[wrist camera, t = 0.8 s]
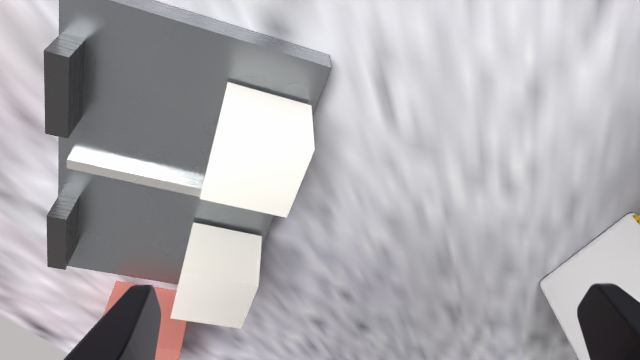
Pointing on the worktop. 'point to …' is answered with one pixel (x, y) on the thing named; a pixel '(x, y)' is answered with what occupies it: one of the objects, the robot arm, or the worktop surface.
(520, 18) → the worktop surface
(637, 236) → the medicine bottle
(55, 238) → the strip
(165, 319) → the cap
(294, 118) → the white square block
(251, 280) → the matte white cube
